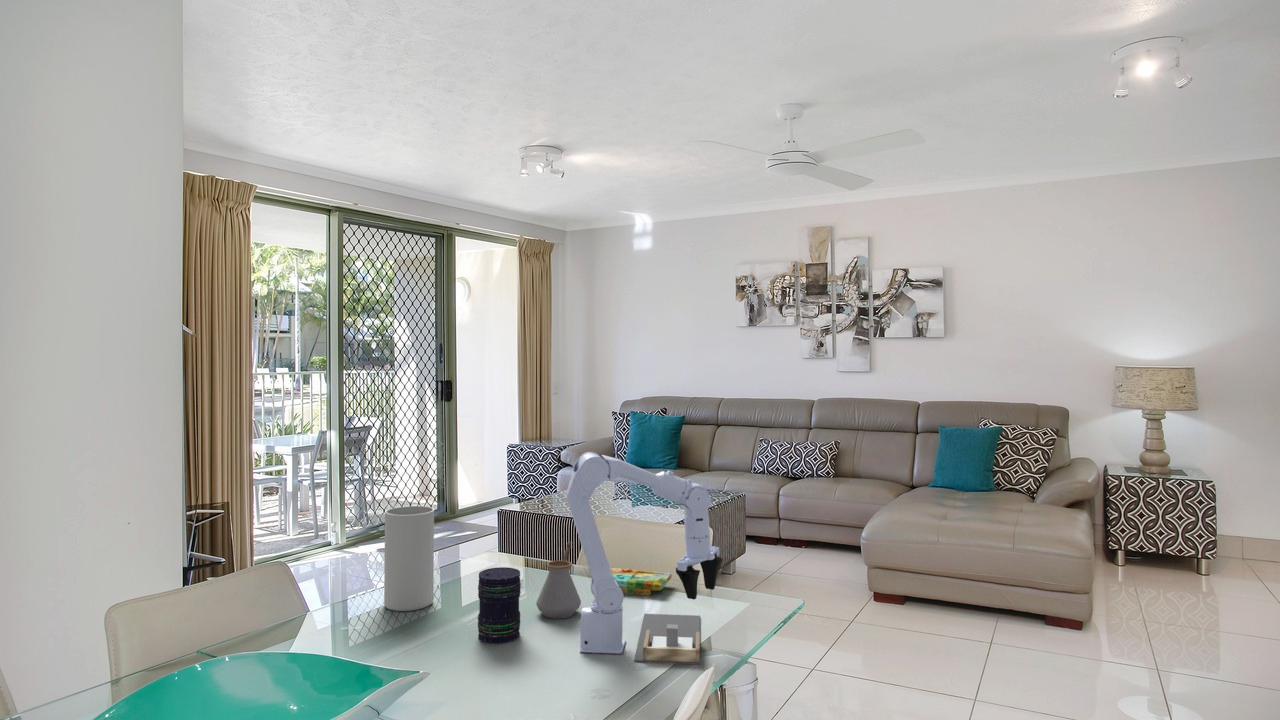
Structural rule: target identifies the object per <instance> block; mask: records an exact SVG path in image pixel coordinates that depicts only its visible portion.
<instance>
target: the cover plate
mask: <svg viewBox="0 0 1280 720" xmlns="http://www.w3.org/2000/svg"><path fill="white" fill-rule="evenodd" d="M692 641H693V638H689V637H678V625H672V624H667V637H662V636H653V642H652V647H671V648H692Z"/></svg>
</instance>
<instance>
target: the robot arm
mask: <svg viewBox="0 0 1280 720" xmlns="http://www.w3.org/2000/svg"><path fill="white" fill-rule="evenodd" d="M674 474H675V473H674V471H671V470H667V471H659V472H658V473H653V472H650V471H648V470H645V469H644V468H641V467H638V466H637V465H634V464H631V463H629V462H626V461H624V460H622V459H619V458H616V457H612V456H609V455H605V454H601V456H600V455H599V454H598V453H597V452H594V451H587V452H584V453H583V454H581V455H580V456H579V457H578V459H577V460H576V461H575V463H574V464H573V466H572V471H571V474H570V475H571V476H570V478H569V483H568V487H567V489H566V494H565V495H566V496H565V497H566V501H567V503H568V507H569V509H570V510H569V511H570V513H571V516H572V520H573V522H574V525H575V529H576V532H577V535H578V539H579V542H580V546H581V548H582V550H583V551H582V552H583V554H584V556H585V560H586V563H587V566H588V570H589V574H590V577H591V578H590V579H591V582H590V583H591V584H590V591H591V593H592V596H593V598H594V599H593V601H592V603H591V604H590V606H583V607H582V609H581V615H580V649H579V652H580V653H589V654H590V653H595V654H596V653H597V654H618V655H620V654H622V653H624V647H625V644H626V638H623V602H624V599H625V598H624V593H623V592H622V590H621V588H620V587H619V586H618V583H617V580H616V579H615V577H614V576H613V575H612V572H611V569H610V568H611V566H610V564H609V560H608V559H607V555H606V551H605V548H604V545H603V543H602V542H603V541H602V538H601V536H600V533H599V530H598V526H597V523H596V520H595V518H594V513H593V511H592V508H591V504H590V498H591V496H592V495H593V493H594V492H595V490H596V489H597V488H598V487H599V486H600V485H601V484H603V483H604V482H605V481H606V479H608V480H610V481H613V480H614V479H615V480H617V479H618V478H622V479H626V480H629V481H632V482H634V483H637V484H640V485H643V486H645V487H649V488H651V490H652V492H653V493H652V494H654V495H655V496H657V497H660V498H662V499H665V500H668V501H670V502H674V503H676V504H678V505H679V504H682V505H683V512H684V513H683V514H684V515H683V520H684V522H683V523H684V534H685V535H684V537H685V538H684V539H685V551H686V552H685V553H686V554H685V555H684V556H683V557H682V558H681V559H680V560H678V561H677V562H676V564H677V565H676V566H677V567H675V573H676V575H678V577H679V579H680V581H681V583H682V585H683V588H684V591H685V595H686V597H687V599H690V600H696V599H697V597H698V580H699V576H700V573H701V572H702V574H703V581H704V582H703V583H704V586H705V587H704V588H705V589H707V590H712V591H713V590H715V588H716V582H717V577H718V573H719V570H720V567H721V564H722V563H723V558H722V557H721V556H720V547H719V546H714V545H712V546H711V533H710V532H711V531H710V518H709V517H710V516H709V509H708V508H709V506H710V504H711V501H712V497H710V493H709V491H708V489H706V488H705V487H703V486H702V485H701V484H700V483H699V484H698V483H697V482H695V481H693V480H692V479H690V478H687V479H685V478H682V477H680V476H676V475H674ZM718 556H719V557H718ZM698 564H700V566H701V570H702V571H701V570H700V569H699V570H698V569H695V567H693V566H696V565H698Z"/></svg>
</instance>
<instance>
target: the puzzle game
mask: <svg viewBox="0 0 1280 720" xmlns="http://www.w3.org/2000/svg"><path fill="white" fill-rule="evenodd" d="M610 569H611V572H612V575H613V576H614V577H615V579H616V580H617V583H618V586H619V587H620V588H621V590H622V592H623V594H628V593H633V594H632V595H639V594H644V595H643V596H650V595H651V594H650V593H652V592H654V591H657V592H660V591H661V590H662V589H664V587H665V586H666V585H667V583H669V581H670V580H671V579H672V573H667V572H660V571H659V572H658V571H648V570H638V569H632V568H629V567H627V568H620V567H610Z"/></svg>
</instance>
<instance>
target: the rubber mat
mask: <svg viewBox="0 0 1280 720" xmlns="http://www.w3.org/2000/svg"><path fill="white" fill-rule="evenodd" d="M667 624H672V625H678V637H689V638H693V641H692V648H696V632H700V633H701V616H700V615H696V614H695V615H691V614H690V615H688V614H664V613H663V614H661V613H659V614H658V613H643V617H642V623H641V627H640V632H639V636H638V637H639V638H638V640H637V646H636V650H635V654H634V659H633V662H634V663H649V662H650V663H651V664H652V663H654V664H675V665H676V664H677V665H681V664H682V665H698V666H699V665H701V654H700V655H699V662H684V661H659V660H643V646H644V641H645V636H646V631H647V630H650V644H649V647H652V642H653V636H662V637H667Z"/></svg>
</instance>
